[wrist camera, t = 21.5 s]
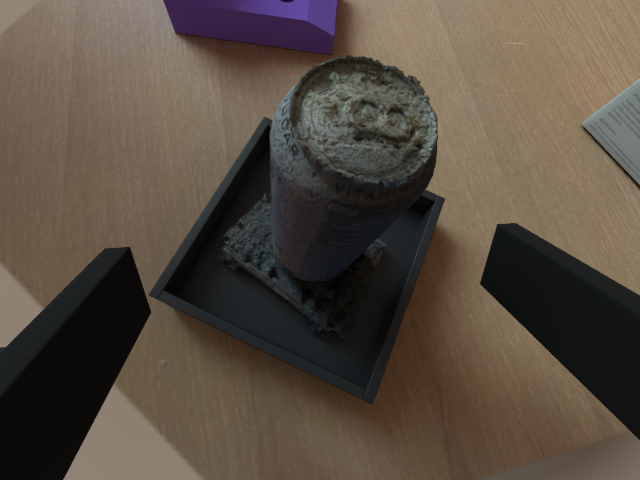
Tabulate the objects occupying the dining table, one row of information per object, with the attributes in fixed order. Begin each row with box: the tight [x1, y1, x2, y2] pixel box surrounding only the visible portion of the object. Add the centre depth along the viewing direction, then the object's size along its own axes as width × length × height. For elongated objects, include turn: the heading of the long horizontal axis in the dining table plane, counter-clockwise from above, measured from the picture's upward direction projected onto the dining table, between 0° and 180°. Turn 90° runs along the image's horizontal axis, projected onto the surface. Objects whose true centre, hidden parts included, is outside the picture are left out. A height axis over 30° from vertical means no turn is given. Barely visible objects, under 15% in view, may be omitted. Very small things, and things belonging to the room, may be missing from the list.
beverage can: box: [215, 56, 438, 343], centre depth 12 cm, size 9×8×12 cm
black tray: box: [149, 117, 445, 405], centre depth 18 cm, size 12×12×3 cm
